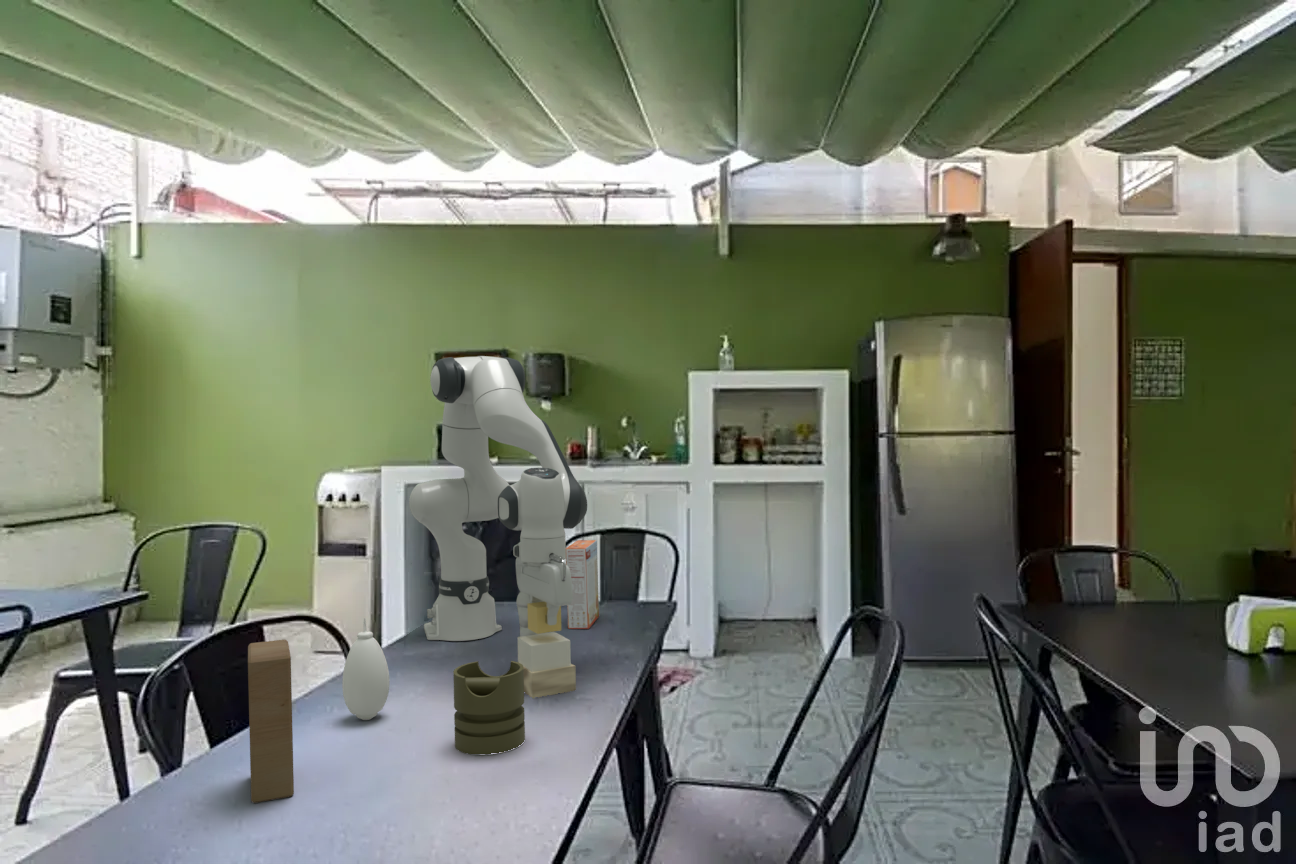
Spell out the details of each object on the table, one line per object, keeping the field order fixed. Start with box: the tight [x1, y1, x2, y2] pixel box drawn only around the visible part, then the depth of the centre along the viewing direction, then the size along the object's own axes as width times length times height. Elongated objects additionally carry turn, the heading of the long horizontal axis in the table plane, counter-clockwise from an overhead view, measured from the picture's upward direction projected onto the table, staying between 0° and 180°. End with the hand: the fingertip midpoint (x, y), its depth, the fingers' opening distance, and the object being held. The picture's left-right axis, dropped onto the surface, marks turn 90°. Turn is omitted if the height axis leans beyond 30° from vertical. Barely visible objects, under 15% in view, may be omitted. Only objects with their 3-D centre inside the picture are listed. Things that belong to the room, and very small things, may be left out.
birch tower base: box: [523, 663, 577, 699], centre depth 171 cm, size 9×9×5 cm
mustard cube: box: [527, 602, 562, 634], centre depth 171 cm, size 5×5×5 cm
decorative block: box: [247, 639, 295, 804], centre depth 126 cm, size 11×6×20 cm, turn 23°
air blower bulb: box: [341, 617, 390, 721], centre depth 155 cm, size 8×8×18 cm
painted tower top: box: [517, 631, 572, 672], centre depth 171 cm, size 8×8×5 cm
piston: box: [452, 660, 526, 755], centre depth 142 cm, size 11×12×11 cm
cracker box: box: [565, 539, 600, 630], centre depth 226 cm, size 14×6×21 cm, turn 172°
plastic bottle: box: [515, 590, 544, 637], centre depth 184 cm, size 6×7×20 cm
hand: (544, 621), depth 171 cm, fingers closed on mustard cube, 5 cm apart
